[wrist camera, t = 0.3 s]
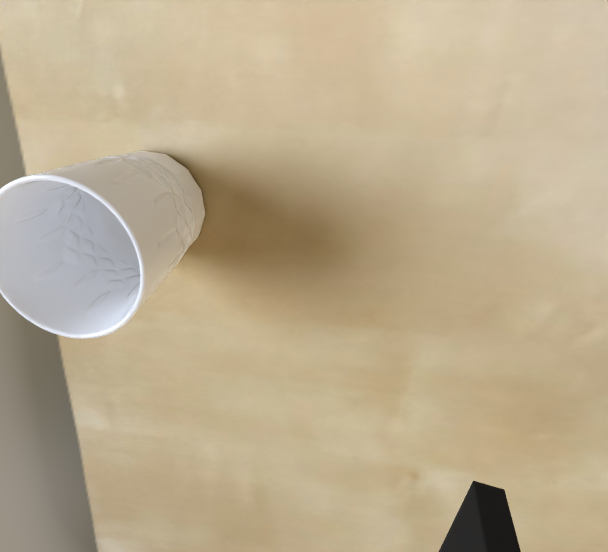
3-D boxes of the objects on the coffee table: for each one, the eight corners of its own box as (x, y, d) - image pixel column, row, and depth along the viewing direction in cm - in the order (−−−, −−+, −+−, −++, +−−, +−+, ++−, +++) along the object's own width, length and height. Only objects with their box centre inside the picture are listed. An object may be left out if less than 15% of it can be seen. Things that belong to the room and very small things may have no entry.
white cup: (70, 180, 32) (-55, 228, 23) (165, 114, 30) (66, 139, 21) (144, 282, 35) (56, 362, 25) (239, 228, 32) (179, 297, 23)
